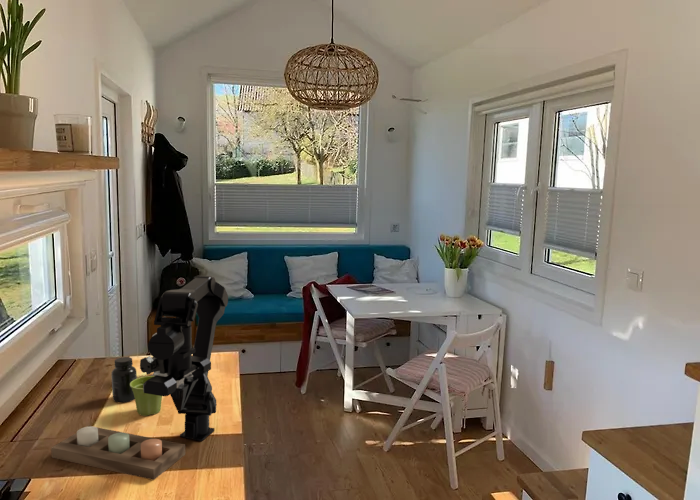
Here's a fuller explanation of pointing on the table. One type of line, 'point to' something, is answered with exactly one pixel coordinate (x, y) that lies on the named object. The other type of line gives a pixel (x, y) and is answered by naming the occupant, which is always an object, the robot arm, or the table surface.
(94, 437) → the button cream
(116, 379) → the supplement bottle
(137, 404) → the plant pot
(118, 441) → the button sage
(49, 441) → the table surface
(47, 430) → the table surface
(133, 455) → the wooden compartment tray
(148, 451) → the button rust
